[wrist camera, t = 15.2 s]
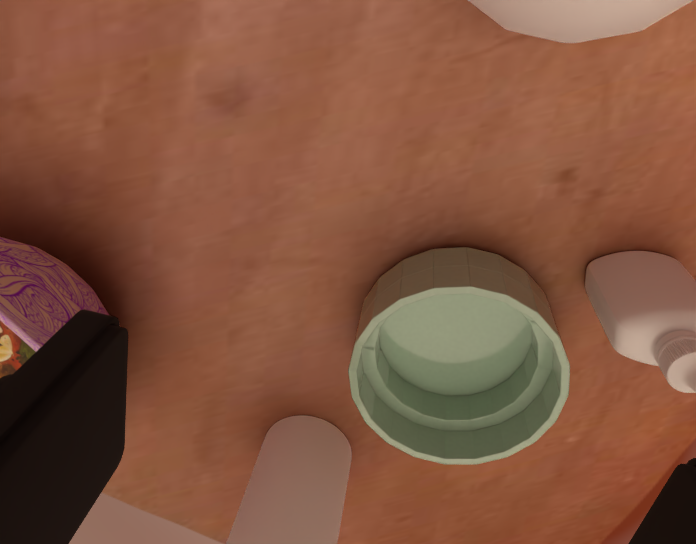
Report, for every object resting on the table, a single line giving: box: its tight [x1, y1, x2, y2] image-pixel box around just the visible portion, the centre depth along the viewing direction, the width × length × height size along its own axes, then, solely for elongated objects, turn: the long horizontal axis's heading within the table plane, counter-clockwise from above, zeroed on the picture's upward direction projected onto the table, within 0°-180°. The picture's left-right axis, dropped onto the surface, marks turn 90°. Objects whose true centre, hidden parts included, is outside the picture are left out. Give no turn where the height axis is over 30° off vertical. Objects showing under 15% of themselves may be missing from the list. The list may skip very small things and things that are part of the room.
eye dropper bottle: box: [585, 251, 696, 393], centre depth 33 cm, size 4×6×12 cm
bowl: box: [348, 247, 570, 464], centre depth 39 cm, size 13×13×6 cm
